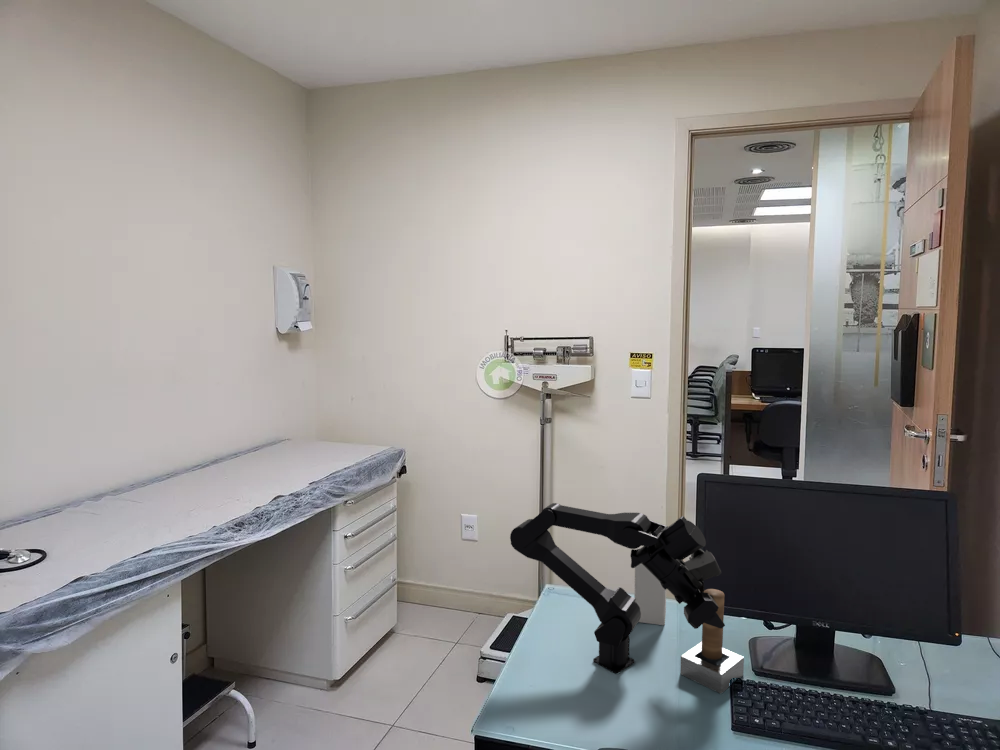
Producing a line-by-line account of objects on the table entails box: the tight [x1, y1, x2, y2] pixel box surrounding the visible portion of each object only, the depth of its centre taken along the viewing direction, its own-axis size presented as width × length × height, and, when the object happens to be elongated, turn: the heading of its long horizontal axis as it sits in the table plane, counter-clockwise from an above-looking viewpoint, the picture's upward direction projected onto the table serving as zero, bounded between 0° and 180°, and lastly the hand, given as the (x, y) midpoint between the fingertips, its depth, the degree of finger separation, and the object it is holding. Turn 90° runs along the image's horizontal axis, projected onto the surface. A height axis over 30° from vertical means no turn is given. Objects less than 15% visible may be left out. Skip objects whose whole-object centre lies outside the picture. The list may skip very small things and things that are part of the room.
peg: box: [701, 588, 725, 659], centre depth 128 cm, size 4×4×13 cm
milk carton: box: [633, 564, 667, 626], centre depth 152 cm, size 7×7×19 cm
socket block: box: [679, 641, 745, 695], centre depth 129 cm, size 9×9×4 cm
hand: (719, 621), depth 128 cm, fingers closed on peg, 4 cm apart
